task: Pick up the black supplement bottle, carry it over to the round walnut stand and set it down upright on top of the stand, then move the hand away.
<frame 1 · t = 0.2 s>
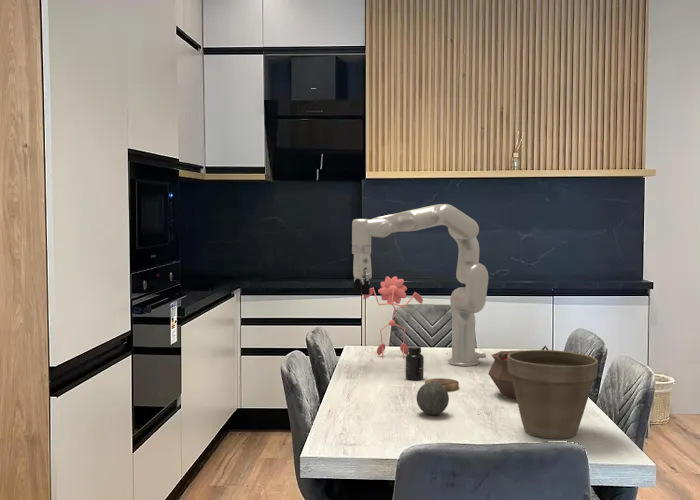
hand: (361, 293, 289), 31 cm above the table, tool pointing down, fingers open, 9 cm apart
plant pot: (551, 432, 209), on the table
brown faceted vessel: (523, 396, 250), on the table
figurine: (392, 355, 322), on the table
stand: (441, 387, 262), on the table
supplement bottle: (414, 379, 276), on the table
decorative ball: (432, 414, 228), on the table
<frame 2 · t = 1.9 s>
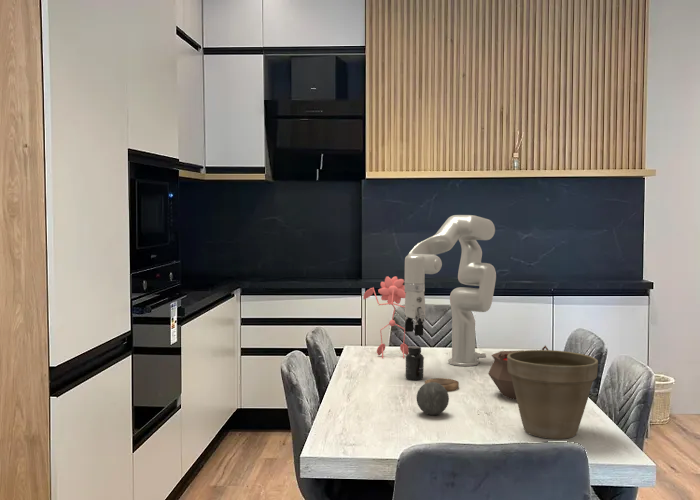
hand: (413, 333, 275), 17 cm above the table, tool pointing down, fingers open, 9 cm apart
nothing on the table moved.
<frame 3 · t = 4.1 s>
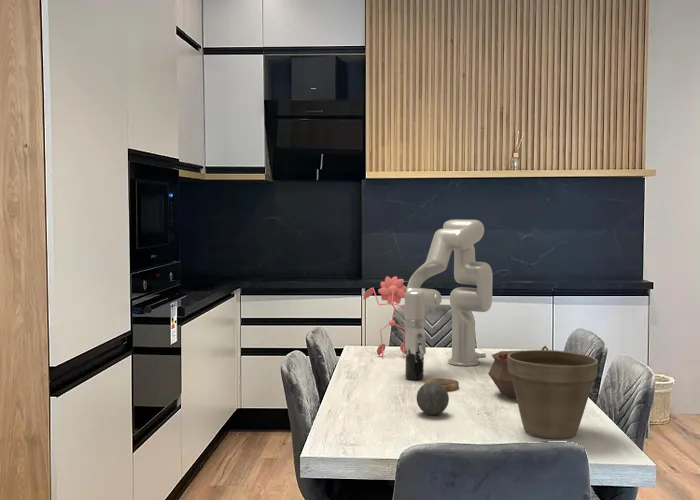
hand: (414, 370, 276), 3 cm above the table, tool pointing down, fingers closed on supplement bottle, 6 cm apart
supplement bottle: (414, 379, 276), on the table, touching gripper
everything else where it was.
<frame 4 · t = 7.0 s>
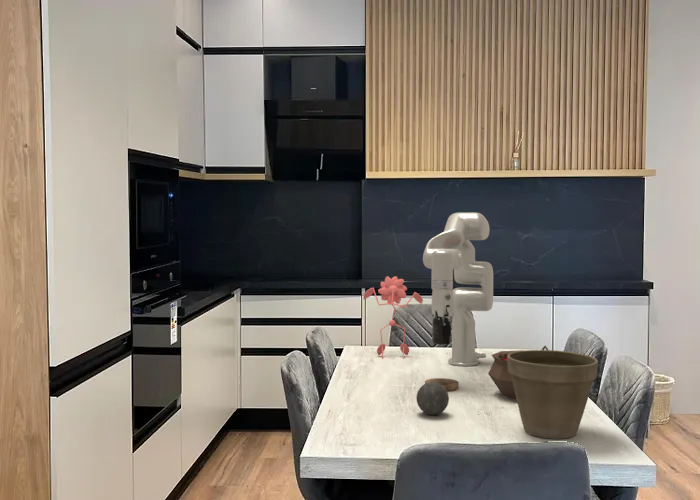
hand: (441, 334, 261), 19 cm above the table, tool pointing down, fingers closed on supplement bottle, 6 cm apart
supplement bottle: (441, 343, 261), point 16 cm above the table, touching gripper
everything else where it was.
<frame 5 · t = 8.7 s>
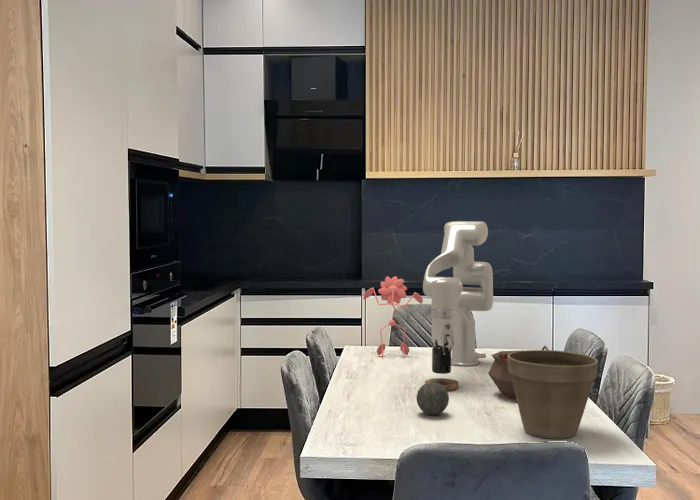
hand: (441, 363, 262), 9 cm above the table, tool pointing down, fingers closed on supplement bottle, 6 cm apart
supplement bottle: (441, 372, 262), point 5 cm above the table, touching gripper
everything else where it was.
when the fingers open (7 cm above the table, at t = 10.1 s): supplement bottle drops 1 cm, resting on stand.
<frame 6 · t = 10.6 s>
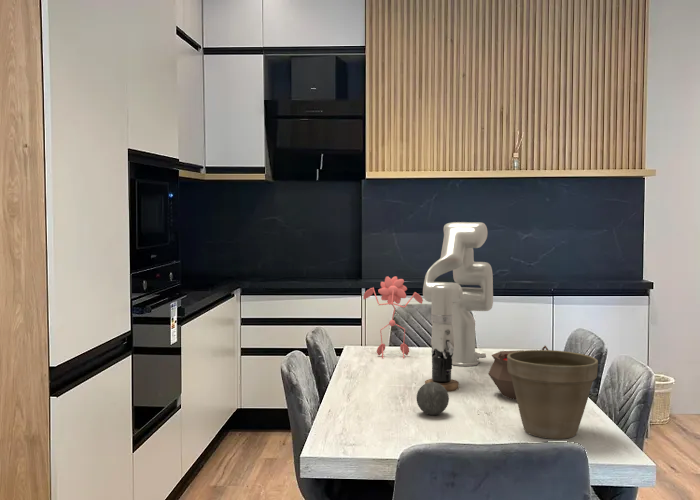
hand: (441, 366, 262), 8 cm above the table, tool pointing down, fingers open, 9 cm apart
supplement bottle: (441, 381, 262), point 2 cm above the table, touching stand
everything else where it was.
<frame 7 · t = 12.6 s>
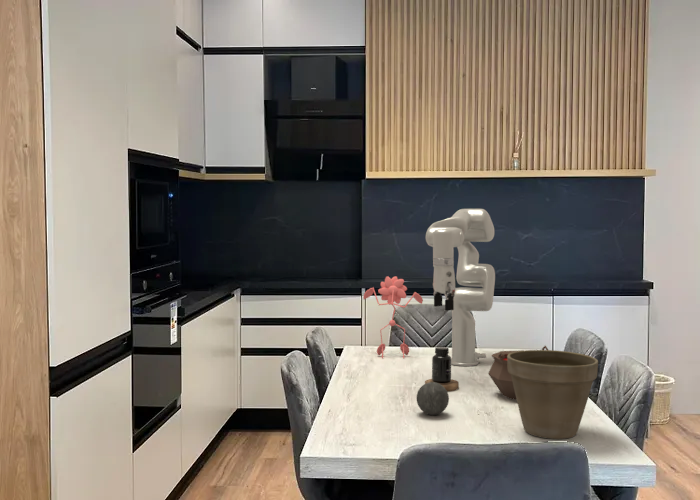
hand: (443, 308, 272), 27 cm above the table, tool pointing down, fingers open, 9 cm apart
nothing on the table moved.
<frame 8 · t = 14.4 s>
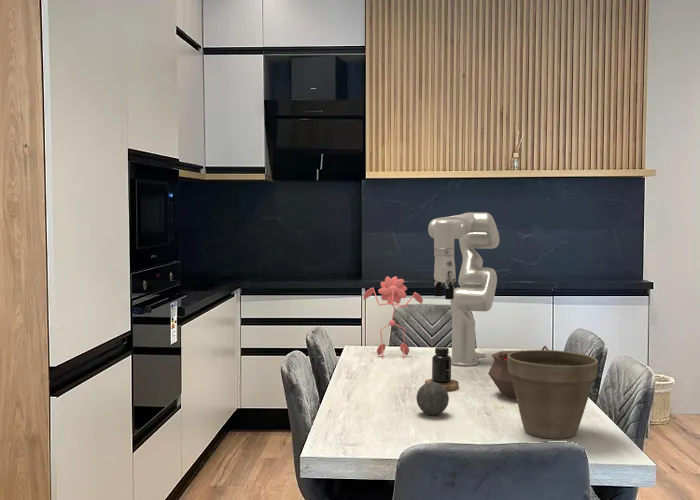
hand: (444, 297, 278), 30 cm above the table, tool pointing down, fingers open, 9 cm apart
nothing on the table moved.
at the end: supplement bottle 0.3 cm from the stand (horizontally); supplement bottle tilted 0°; supplement bottle touching stand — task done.
